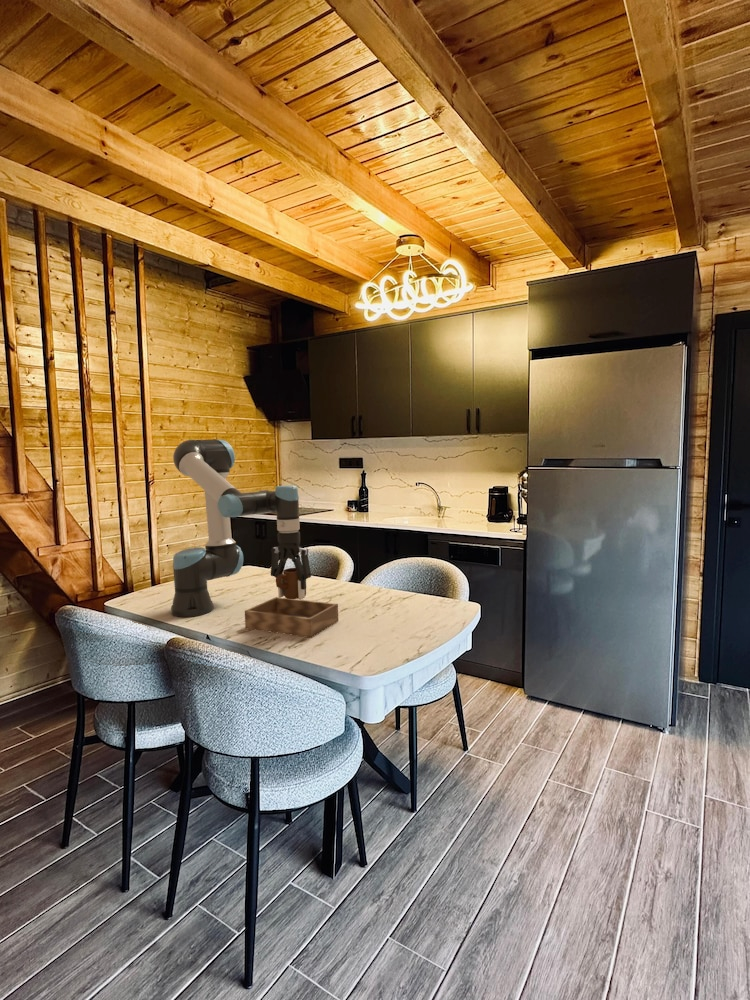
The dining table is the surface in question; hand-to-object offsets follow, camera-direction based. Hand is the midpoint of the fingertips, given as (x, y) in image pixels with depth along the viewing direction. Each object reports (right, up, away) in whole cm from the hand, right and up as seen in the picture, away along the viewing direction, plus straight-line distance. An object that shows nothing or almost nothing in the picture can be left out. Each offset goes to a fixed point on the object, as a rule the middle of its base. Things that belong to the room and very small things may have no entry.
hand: (291, 597), depth 184 cm
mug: (0, 0, 0) cm, 1 cm away
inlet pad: (0, -9, +1) cm, 10 cm away
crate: (0, -9, +1) cm, 10 cm away
